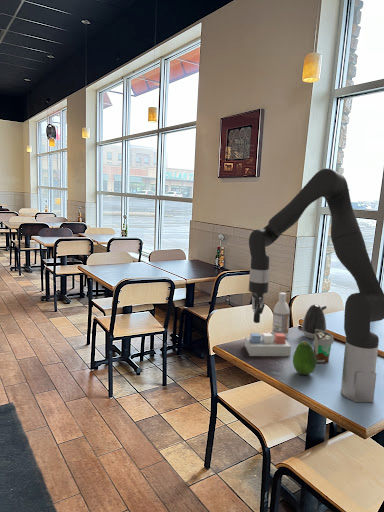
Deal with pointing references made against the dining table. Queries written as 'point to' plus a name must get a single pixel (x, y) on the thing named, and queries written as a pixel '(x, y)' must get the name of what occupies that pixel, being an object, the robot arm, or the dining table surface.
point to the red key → (279, 338)
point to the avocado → (304, 358)
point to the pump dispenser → (314, 321)
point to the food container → (322, 346)
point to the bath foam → (281, 316)
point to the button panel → (267, 348)
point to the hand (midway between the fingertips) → (256, 322)
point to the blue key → (255, 338)
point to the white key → (267, 338)
